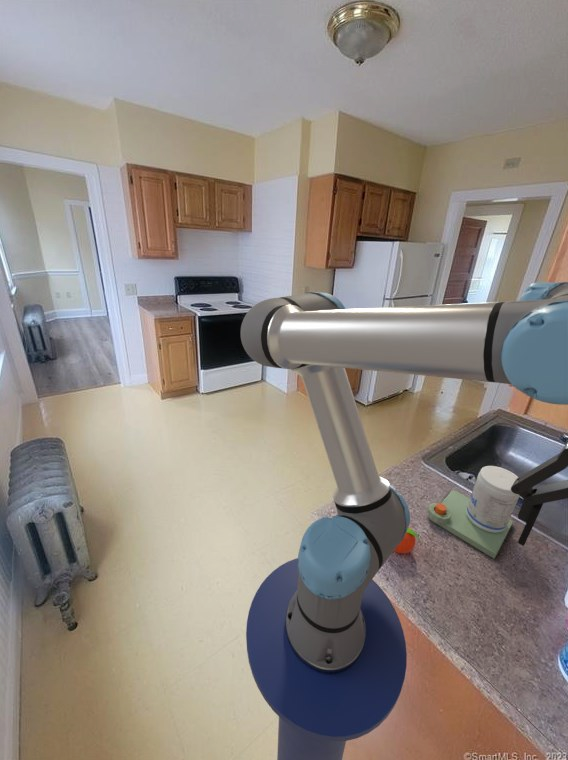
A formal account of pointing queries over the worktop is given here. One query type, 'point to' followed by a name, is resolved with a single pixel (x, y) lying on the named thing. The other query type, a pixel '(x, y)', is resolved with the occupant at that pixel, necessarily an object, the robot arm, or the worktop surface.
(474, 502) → the supplement tub
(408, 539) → the clementine
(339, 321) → the robot arm
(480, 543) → the scale
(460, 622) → the worktop surface
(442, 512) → the tare button
